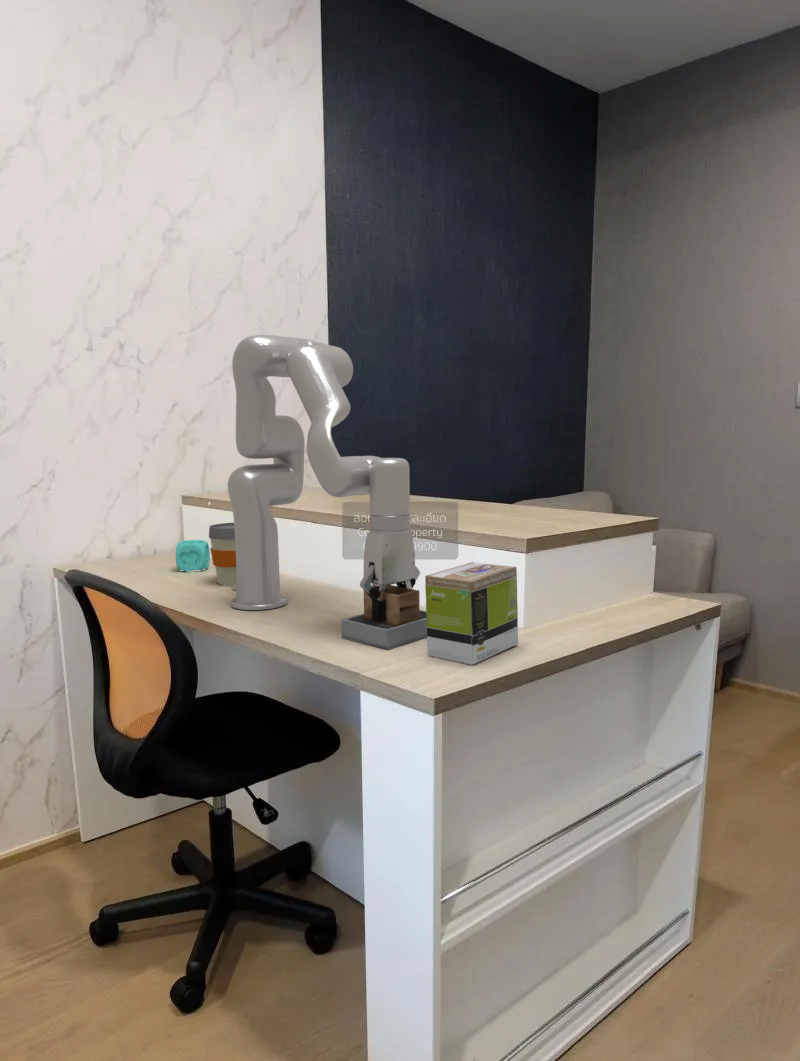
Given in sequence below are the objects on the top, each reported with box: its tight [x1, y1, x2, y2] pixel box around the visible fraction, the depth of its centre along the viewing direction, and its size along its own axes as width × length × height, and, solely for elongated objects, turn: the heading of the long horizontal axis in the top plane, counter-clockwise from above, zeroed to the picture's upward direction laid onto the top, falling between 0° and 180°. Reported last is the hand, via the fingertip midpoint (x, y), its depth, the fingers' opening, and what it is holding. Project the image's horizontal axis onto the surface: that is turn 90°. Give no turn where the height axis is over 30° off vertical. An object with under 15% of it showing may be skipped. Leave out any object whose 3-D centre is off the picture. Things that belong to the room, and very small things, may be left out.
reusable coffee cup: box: [208, 522, 237, 587], centre depth 199 cm, size 13×13×15 cm
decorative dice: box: [175, 539, 211, 571], centre depth 218 cm, size 8×8×8 cm
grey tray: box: [340, 609, 427, 651], centre depth 147 cm, size 12×15×4 cm
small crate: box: [363, 584, 421, 627], centre depth 147 cm, size 9×6×6 cm, turn 47°
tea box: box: [424, 561, 519, 666], centre depth 136 cm, size 15×10×15 cm
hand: (391, 616), depth 147 cm, fingers closed on small crate, 5 cm apart
